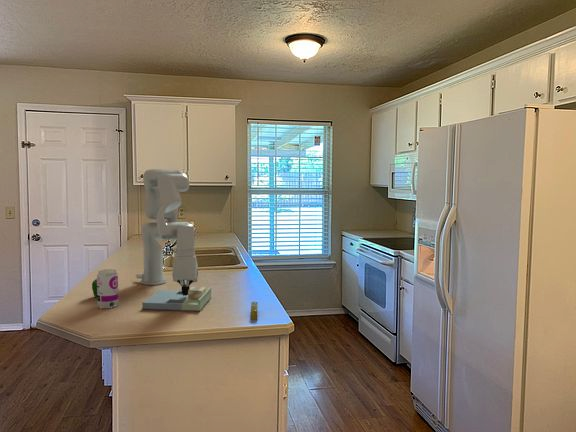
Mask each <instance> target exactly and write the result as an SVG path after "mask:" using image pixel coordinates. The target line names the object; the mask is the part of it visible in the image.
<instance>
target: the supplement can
mask: <svg viewBox="0 0 576 432" xmlns="http://www.w3.org/2000/svg"><path fill="white" fill-rule="evenodd" d="M96 279H97V298H96V299H97V300H96V301H97V303H96V305H97V307H98V308H99V307H101V308H100V309H102V308H109V309H112V308H111V307H114V308H115V306H116V307H118V305H119V273H118V272H117V270H116V269H110V268H109V269H102V270H98V272H97V274H96Z"/></svg>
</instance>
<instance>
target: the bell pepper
mask: <svg viewBox="0 0 576 432" xmlns="http://www.w3.org/2000/svg"><path fill="white" fill-rule="evenodd" d="M91 289H92V294H93V296H94V298H96V297H97V278H96V279H94V280H93V281H92V283H91Z"/></svg>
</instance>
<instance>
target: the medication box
mask: <svg viewBox="0 0 576 432" xmlns="http://www.w3.org/2000/svg"><path fill="white" fill-rule="evenodd" d="M258 315H259V305H258V301H251V305H250V321H258V317H259V316H258Z"/></svg>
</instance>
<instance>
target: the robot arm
mask: <svg viewBox="0 0 576 432" xmlns="http://www.w3.org/2000/svg"><path fill="white" fill-rule="evenodd" d="M142 181H143V182H142V183H143V186H144V189H145V212H144V213H145V217H146V218H147V219H148V220H156V221H148V222H144V223H143V224H142V225H141V228H140V229H141V232H140V233H141V238H142V246H143V249H142V250H143V273H137V274H136V275H135V276H136V277H135V278H136V279H141V280H140V284H141V285H145V286H157V285H162V284H165V283H166V282H167V279H166V278H164V253H163V252H164V249H163V248H164V247H163V246H162V245H161V244H160V242H159V241H162V240H165V241H167V240H170V241H172V240H176V249H173V252H172V253H173V254H175V256H174V258H173V262H172V272H171V273H172V281H174V282H176V283H178V284H179V285H180V287H181V291H182V293H183V296H184V295H185V296H187V295H188V290H189V289H190V286H191V285H192V284H193V283H197V282H198V281H199V278H198V277H199V276H198V275H199V269H198V268H199V266H198V260H197V255H195V254H196V253H195V249H196V248H195V243H196V242H195V240H196V239H195V237H196V235H195V231H196V230H195V226H194V224H192V223H190V222H188V221H178V215H179V214H178V213H179V211H178V208H179V207H180V206H181V205H182V201H183V200H182V198H181V194H180V192H187V191H188V190H189V189H190V179H189V178H188V176H187V175H186V174H185V173H184V172H182V171H180V170H179V169H164V168H163V169H161V168H152V169H147V170H145V171H144V172H143V175H142Z"/></svg>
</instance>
